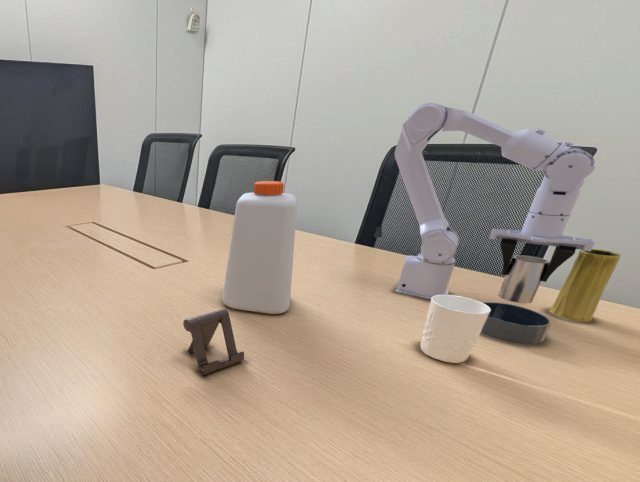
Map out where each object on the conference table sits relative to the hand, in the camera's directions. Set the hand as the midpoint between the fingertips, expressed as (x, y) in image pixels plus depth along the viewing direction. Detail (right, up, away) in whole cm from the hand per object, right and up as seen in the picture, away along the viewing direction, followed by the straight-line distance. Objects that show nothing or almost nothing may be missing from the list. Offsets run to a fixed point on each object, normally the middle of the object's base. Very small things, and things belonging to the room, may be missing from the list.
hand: (523, 276), depth 80 cm
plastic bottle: (-53, -6, +11) cm, 55 cm away
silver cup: (0, -5, +2) cm, 5 cm away
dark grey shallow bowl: (-9, -11, -5) cm, 15 cm away
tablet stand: (-70, -16, -12) cm, 72 cm away
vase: (+10, -9, 0) cm, 13 cm away
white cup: (-27, -15, -12) cm, 33 cm away
